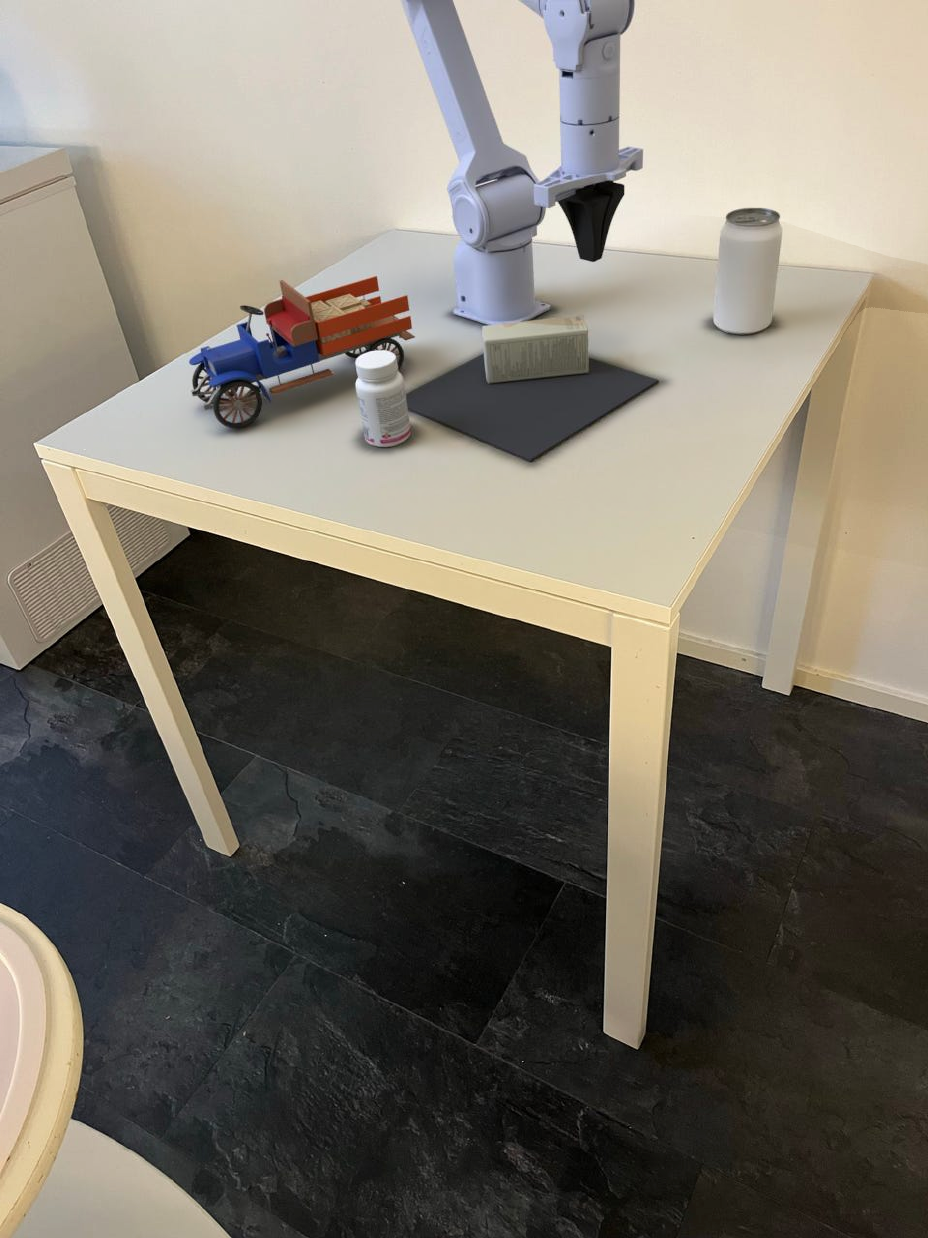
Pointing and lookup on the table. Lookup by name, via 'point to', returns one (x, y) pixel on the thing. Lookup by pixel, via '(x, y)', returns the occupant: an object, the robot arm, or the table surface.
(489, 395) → the mat
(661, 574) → the table surface
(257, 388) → the toy truck
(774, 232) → the can
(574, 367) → the box
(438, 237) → the table surface
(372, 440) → the pill bottle
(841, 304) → the table surface
